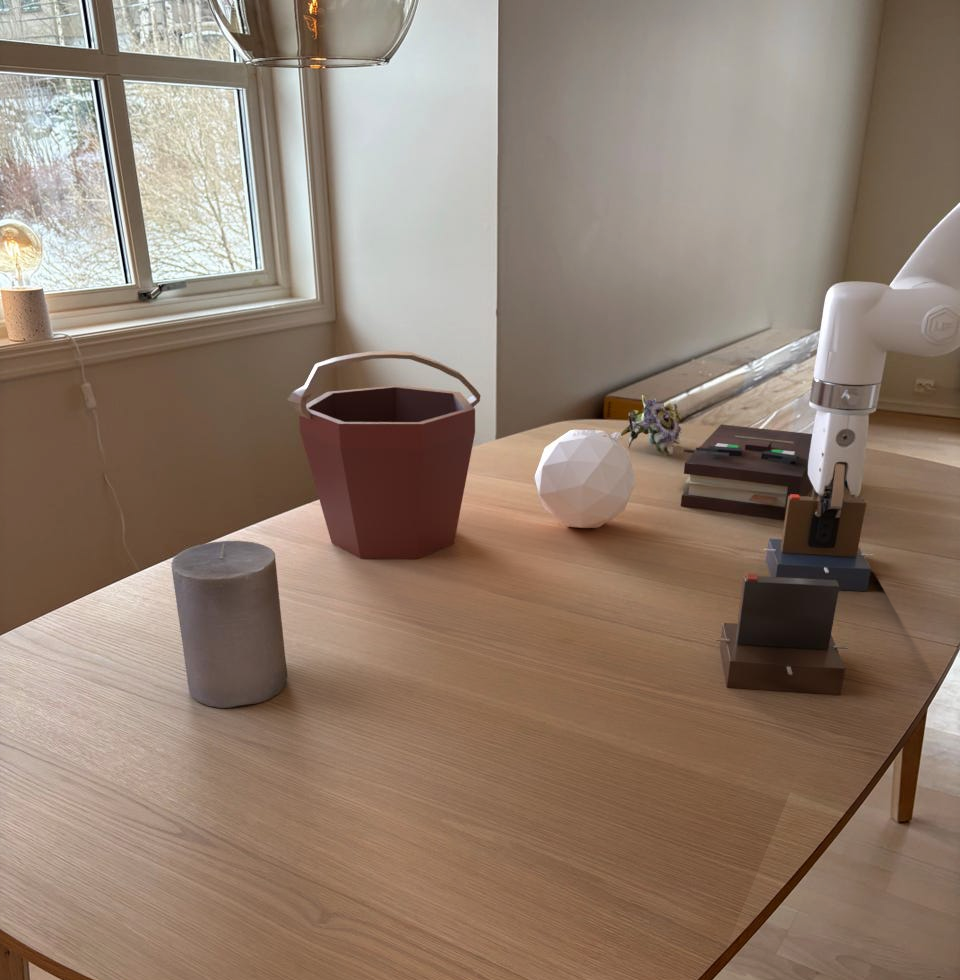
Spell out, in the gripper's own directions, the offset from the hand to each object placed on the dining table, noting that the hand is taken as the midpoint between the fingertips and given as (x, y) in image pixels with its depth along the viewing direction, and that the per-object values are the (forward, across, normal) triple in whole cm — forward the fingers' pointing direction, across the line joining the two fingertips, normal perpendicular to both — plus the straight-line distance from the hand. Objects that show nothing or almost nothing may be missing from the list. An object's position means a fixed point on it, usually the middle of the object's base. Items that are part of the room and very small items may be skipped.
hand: (819, 542), depth 123 cm
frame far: (+1, 0, 0) cm, 1 cm away
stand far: (+4, 0, 0) cm, 4 cm away
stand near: (+4, -27, +8) cm, 28 cm away
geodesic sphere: (+5, +15, +30) cm, 34 cm away
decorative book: (+5, +35, +4) cm, 35 cm away
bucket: (+5, +5, +56) cm, 56 cm away
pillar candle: (+5, -39, +61) cm, 73 cm away
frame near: (+1, -27, +8) cm, 28 cm away
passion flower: (+5, +56, +21) cm, 60 cm away
